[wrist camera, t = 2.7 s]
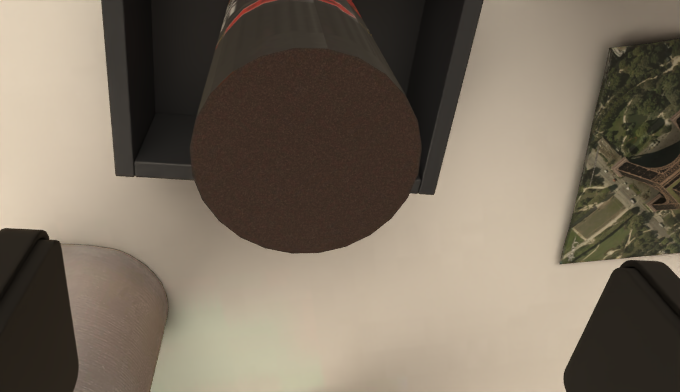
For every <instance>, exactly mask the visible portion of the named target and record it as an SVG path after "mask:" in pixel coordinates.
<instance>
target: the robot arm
mask: <svg viewBox="0 0 680 392" xmlns="http://www.w3.org/2000/svg"><path fill="white" fill-rule="evenodd" d="M78 371H79V361H78V354H77V347H76V340H75V334H74V327H73V320H72V314H71V307H70V300H69V294H68V287H67V280H66V274H65V267H64V260H63V254H62V248H61V244H60V242H59V241H57V240H49V236H48V234H47V232H46V231H44V230H30V229H11V228H5V229H1V230H0V392H73V391H74V388H75V385H76V382H77V378H78ZM564 386H565V389H566V392H680V278H679V277H678V276H677V275H676V274H675V273H674V272H673V271H672V270H671V269H670V268H669V267H668V266H667V265H665V264H664V263H662V262H658V261H640V260H629V261H626V262H624V263H623V264H622V265H621V266H620V268H617V269H615V270H614V271H613V272H612V274H611V276H610V278H609V280H608V282H607V284H606V286H605V288H604V290H603V292H602V295H601V297H600V299H599V301H598V303H597V305H596V307H595V309H594V311H593V313H592V315H591V317H590V319H589V321H588V323H587V325H586V328H585V330H584V332H583V334H582V336H581V338H580V340H579V342H578V344H577V346H576V348H575V350H574V352H573V354H572V356H571V359H570V361H569V363H568V365H567V367H566V369H565V372H564Z"/></svg>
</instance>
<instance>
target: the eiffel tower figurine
mask: <svg viewBox="0 0 680 392" xmlns="http://www.w3.org/2000/svg"><path fill="white" fill-rule="evenodd" d="M673 253H680V39H674V40H669V41H663V42H657V43H649V44H642V45H632V46H623V47H614V48H609V53H608V58H607V64H606V69H605V74H604V78H603V82H602V86H601V90H600V94H599V98H598V102H597V106H596V110H595V114H594V119H593V123H592V128H591V133H590V138H589V144H588V149H587V153H586V158H585V163H584V168H583V172H582V177H581V181H580V185H579V190H578V194H577V198H576V202H575V207H574V211H573V215H572V219H571V223H570V227H569V230H568V234H567V237H566V241H565V244H564V248H563V252H562V256H561V260H560V264H567V263H578V262H588V261H598V260H609V259H619V258H630V257H640V256H651V255H662V254H673Z"/></svg>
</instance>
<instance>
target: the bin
mask: <svg viewBox="0 0 680 392" xmlns="http://www.w3.org/2000/svg"><path fill="white" fill-rule="evenodd" d="M352 2H353V4H354V5H355V7H356V9H357V11H358V12H359V14H360V16H361V18H362V19H363V21H364V23H365V25H366V26H367V28H368V30H369V32H370V34H371V35H372V37H373V39H374V41H375V42H376V44H377V46H378V48H379V49H380V51H381V53H382V55H383V56H384V58H385V60H386V62H387V63H388V65H389V67H390V69H391V71H392V72H393V74H394V76H395V78H396V79H397V81H398V83H399V85H400V86H401V88H402V90H403V92H404V93H405V95H406V97H407V99H408V101H409V103H410V106H411V108H412V110H413V112H414V114H415V116H416V118H417V120H418V125H419V131H420V138H421V145H422V151H421V158H420V165H419V172H418V176H417V178H416V180H415V182H414V185H413V187H412V189H411V191H410V193H414V194H417V193H419V194H427V195H434V193H435V189H436V185H437V181H438V178H439V174H440V170H441V166H442V162H443V158H444V154H445V150H446V146H447V142H448V138H449V134H450V130H451V126H452V122H453V118H454V114H455V110H456V107H457V103H458V99H459V95H460V91H461V87H462V83H463V79H464V75H465V71H466V67H467V63H468V59H469V55H470V51H471V47H472V43H473V40H474V36H475V32H476V28H477V24H478V20H479V16H480V12H481V8H482V4H483V0H352ZM101 3H102V15H103V27H104V39H105V52H106V64H107V76H108V88H109V100H110V113H111V125H112V137H113V149H114V161H115V174H116V176H126V177H134V176H136V177H148V178H164V179H181V180H194V178H193V176H192V167H191V157H190V144H191V139H192V134H193V129H194V124H195V120H196V116H197V113H198V109H199V105H200V102H201V98H202V95H203V91H204V88H205V84H206V81H207V77H208V74H209V70H210V67H211V63H212V59H213V56H214V52H215V49H216V45H217V42H218V38H219V35H220V31H221V28H222V24H223V21H224V17H225V13H226V10H227V6H228V3H229V0H101Z"/></svg>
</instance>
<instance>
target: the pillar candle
mask: <svg viewBox="0 0 680 392" xmlns="http://www.w3.org/2000/svg"><path fill="white" fill-rule="evenodd" d="M61 248H62V254H63V260H64V267H65V274H66V280H67V287H68V294H69V300H70V307H71V314H72V320H73V327H74V334H75V340H76V347H77V354H78V361H79V371H78V378H77V382H76V385H75V388H74V391H73V392H150V389H151V385H152V381H153V376H154V372H155V368H156V363H157V359H158V355H159V351H160V347H161V342H162V338H163V334H164V329H165V325H166V320H167V315H168V301H167V296H166V293H165V291H164V288H163V287H162V284H161V282H160V281H159V280H158V278H157V277H156V276H155V274H154V273H153V272H152V271H151V270H149V269H148V267H147V266H146V265H144V264H143V263H142V262H140V261H139V260H137V259H135V258H134V257H132V256H131V255H129V254H127V253H125V252H122V251H119V250H116V249H111V248H104V247H97V246H90V245H75V244H61Z"/></svg>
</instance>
